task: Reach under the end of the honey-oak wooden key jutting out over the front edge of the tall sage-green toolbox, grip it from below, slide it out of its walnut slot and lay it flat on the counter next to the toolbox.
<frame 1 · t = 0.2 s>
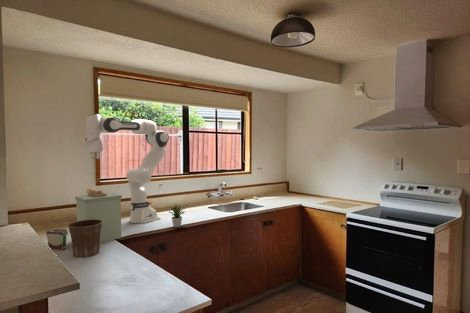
hand: (95, 158, 207), 48 cm above the worktop, tool pointing down, fingers open, 8 cm apart
toolbox: (99, 238, 186), on the worktop
plant pot: (86, 254, 160), on the worktop
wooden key: (93, 194, 191), point 26 cm above the worktop, touching toolbox
food container: (60, 248, 169), on the worktop
house plant: (177, 226, 212), on the worktop
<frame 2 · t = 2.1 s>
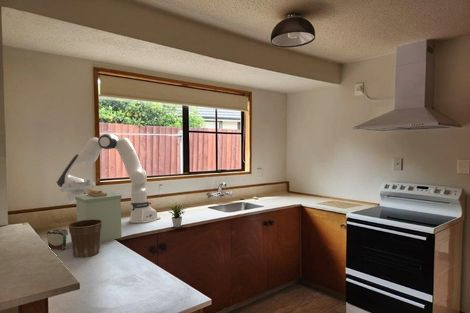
hand: (81, 181, 206), 33 cm above the worktop, tool pointing upward, fingers open, 8 cm apart
nothing on the worktop moved.
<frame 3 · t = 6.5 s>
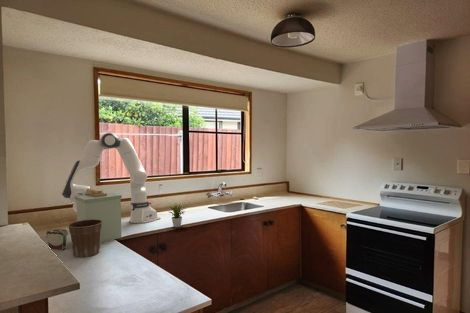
hand: (91, 190, 194), 28 cm above the worktop, tool pointing upward, fingers closed on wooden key, 3 cm apart
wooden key: (93, 194, 191), point 26 cm above the worktop, touching gripper, toolbox
everything else where it was.
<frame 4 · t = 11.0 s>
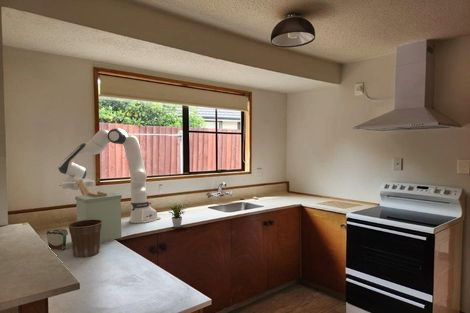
hand: (81, 185, 206), 30 cm above the worktop, tool horizontal, fingers closed on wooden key, 3 cm apart
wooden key: (83, 191, 204), point 26 cm above the worktop, tilted 30°, touching gripper
everything else where it was.
when the fingers open (11 cm above the worktop, at t = 15.0 s): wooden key drops 7 cm, on the worktop.
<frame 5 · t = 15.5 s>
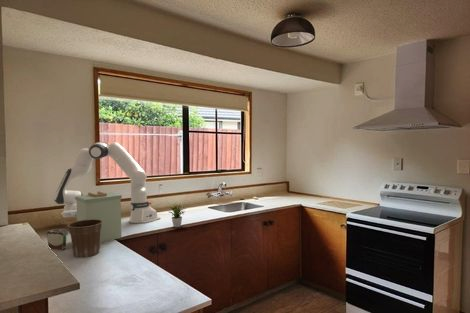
hand: (82, 214, 207), 11 cm above the worktop, tool horizontal, fingers open, 8 cm apart
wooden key: (84, 230, 207), on the worktop
everything else where it was.
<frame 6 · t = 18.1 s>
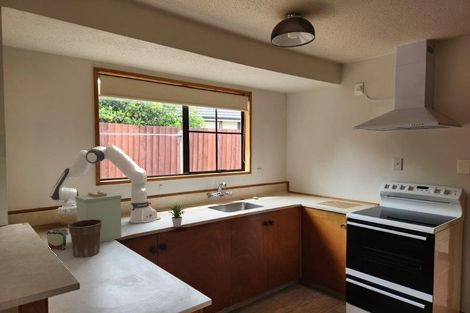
hand: (77, 211, 215), 11 cm above the worktop, tool horizontal, fingers open, 8 cm apart
nothing on the worktop moved.
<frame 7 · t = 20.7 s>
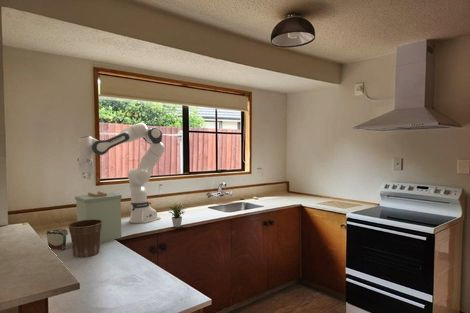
hand: (86, 178, 216), 33 cm above the worktop, tool pointing down, fingers open, 8 cm apart
nothing on the worktop moved.
at the end: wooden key inside the target area (1.7 cm from its centre), on the worktop; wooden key touching worktop; the gripper is holding nothing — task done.
